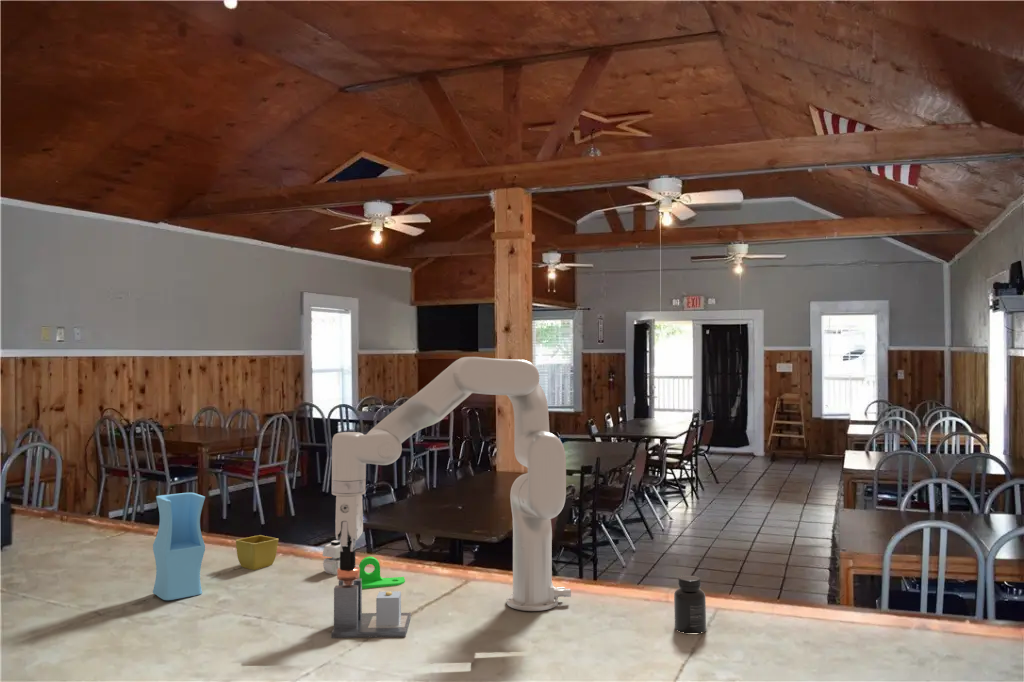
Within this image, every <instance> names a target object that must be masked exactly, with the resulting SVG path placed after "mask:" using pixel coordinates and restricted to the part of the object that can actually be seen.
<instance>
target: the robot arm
mask: <svg viewBox="0 0 1024 682" xmlns="http://www.w3.org/2000/svg"><path fill="white" fill-rule="evenodd" d="M446 367H447V366H446ZM545 393H546V392H545V391H544V389H543V387H542V386H541V384H540V373H539V371H538V368H537V367H536V366H535V364H533V363H532V362H531V361H528V360H525V359H509V358H490V357H481V356H464V357H463V356H462V357H460V358H459V359H455V361H453V362H452V363H451V364H450V365H449V366H448V367H447V368H445V369H443V370H442V371H441V372H440V373H439V374H438V375H437V376H436V377H434V378H433V379H432V380H431V381H430V382H429V383H428V384H426V385H425V386H424V387H423V388H421V389H420V390H419V391H418V392H417V393H416V394H414V395H412V396H411V397H410V398H408V399H407V400H406V401H405V402H404V403H403V404H401V405H400V406H398V407H396V408H395V409H394V410H393V411H391V412H390V413H389V414H388V415H386V416H385V417H384V418H382V420H380V421H379V422H378V423H377V424H376V425H374V426H373V427H372V428H371V429H370V430H369V431H368V432H367V433H366V434H364V433H362V432H359V431H357V432H356V431H345V432H344V431H342V432H337V433H335V434H333V437H332V441H331V442H332V443H331V445H332V448H331V451H332V452H331V495H333V496H336V497H335V517H334V518H335V520H334V521H335V529H334V530H335V533H334V534H335V539H336V541H340V550H341V551H340V569H341V570H353V569H354V568H355V566H356V553H357V551H356V541H357V540H359V538H360V537H361V536H362V534H363V532H364V521H363V520H364V518H363V517H364V516H363V515H364V512H363V495H365V494H366V488H367V487H366V482H367V481H366V479H367V478H366V477H367V474H366V473H367V472H366V471H367V465H368V464H369V465H370V464H371V465H377V466H378V465H379V466H388V465H391V464H393V463H395V462H396V461H398V459H400V457H401V456H402V450H403V447H402V444H403V443H404V442H405V441H406V440H407V439H409V438H410V437H412V436H413V435H414V434H416V433H417V432H419V431H420V430H423V429H425V428H427V427H430V426H433V425H436V424H437V423H439V422H441V421H442V420H443V419H444V418H446V417H447V416H448V415H449V414H450V413H451V412H452V411H453V410H454V409H456V408H457V407H458V406H459V405H460V404H461V403H463V402H464V401H465V400H466V399H467V398H469V396H471V395H472V394H480V395H491V396H493V395H494V396H507V398H508V399H509V401H510V403H511V405H512V410H513V417H514V418H513V419H514V421H513V422H514V442H513V443H514V450H513V451H514V457H515V459H516V461H517V462H518V463H519V464H520V465H521V466H523V467H525V468H527V472H526V473H522V474H520V475H519V476H517V478H516V479H515V480H514V481H513V483H512V485H511V488H510V492H509V493H510V495H509V499H510V500H509V501H510V508H511V515H512V594H510V595H508V596H507V597H506V604H507V606H508V607H510V608H511V609H515V610H518V611H526V612H527V611H528V612H540V611H546V610H547V611H548V610H552V609H554V608H556V607H557V606H558V605H559V598H560V597H561V598H571V597H572V591H571V590H572V589H571V588H566V587H564V586H561V587H556V586H555V585H554V583H553V580H552V579H553V578H552V577H553V576H552V575H553V574H552V573H553V571H552V568H553V565H552V562H553V561H552V559H553V557H552V551H553V550H552V547H553V546H552V545H553V544H552V540H553V531H552V530H553V529H552V519H554V518H556V517H558V515H559V514H560V513H561V512H562V510H563V509H564V506H565V503H566V498H567V497H566V496H567V455H566V450H565V448H564V444H563V442H562V441H561V440H560V439H559V437H558V436H557V435H555V434H553V433H552V432H550V420H549V419H550V416H549V414H550V413H549V404H548V400H547V396H546V394H545Z"/></svg>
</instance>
